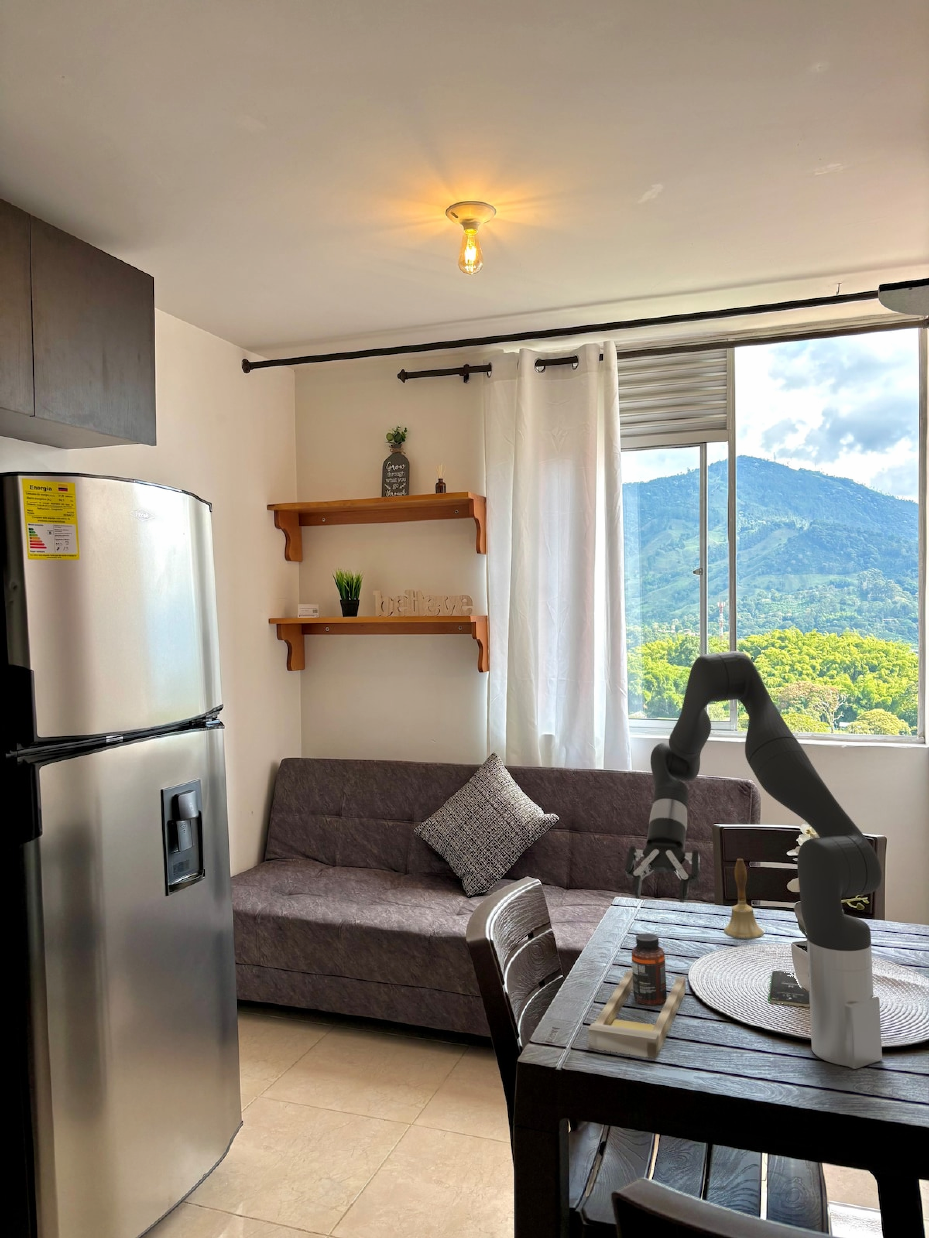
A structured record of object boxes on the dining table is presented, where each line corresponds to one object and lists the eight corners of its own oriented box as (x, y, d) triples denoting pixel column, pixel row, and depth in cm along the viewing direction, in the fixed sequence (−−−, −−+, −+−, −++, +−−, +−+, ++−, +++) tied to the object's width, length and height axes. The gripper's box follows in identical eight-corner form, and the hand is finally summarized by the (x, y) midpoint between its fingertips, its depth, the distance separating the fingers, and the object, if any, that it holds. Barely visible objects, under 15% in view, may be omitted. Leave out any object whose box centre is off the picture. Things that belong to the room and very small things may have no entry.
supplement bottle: (664, 993, 160) (662, 931, 161) (669, 1006, 154) (666, 942, 155) (631, 992, 161) (629, 931, 161) (634, 1006, 155) (632, 942, 155)
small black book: (813, 973, 166) (813, 1004, 152) (813, 978, 166) (813, 1010, 152) (771, 969, 169) (767, 999, 155) (771, 974, 169) (767, 1004, 155)
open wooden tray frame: (627, 983, 165) (627, 967, 166) (685, 990, 161) (685, 974, 161) (588, 1047, 140) (588, 1029, 140) (656, 1058, 135) (655, 1039, 136)
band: (614, 1021, 149) (614, 1018, 149) (659, 1027, 146) (659, 1025, 146) (607, 1033, 145) (607, 1031, 145) (653, 1040, 142) (653, 1038, 142)
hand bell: (716, 931, 193) (713, 858, 194) (740, 923, 198) (737, 853, 198) (746, 941, 186) (743, 866, 187) (771, 933, 191) (768, 859, 191)
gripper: (629, 814, 180) (618, 885, 169) (700, 817, 174) (694, 891, 163) (636, 834, 185) (626, 905, 174) (705, 838, 179) (699, 911, 168)
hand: (659, 898), depth 169 cm, fingers open, 8 cm apart
